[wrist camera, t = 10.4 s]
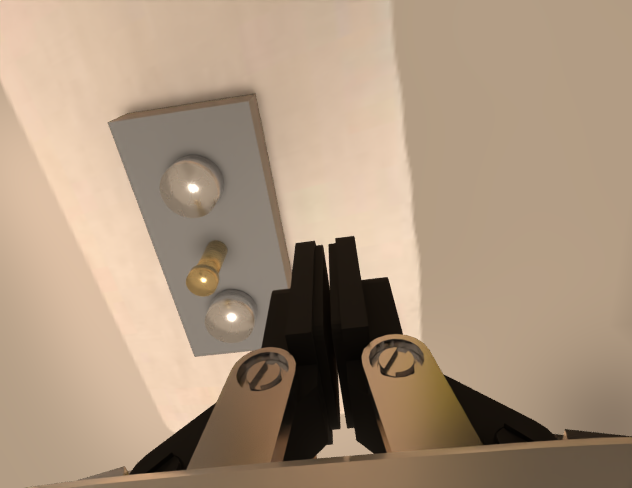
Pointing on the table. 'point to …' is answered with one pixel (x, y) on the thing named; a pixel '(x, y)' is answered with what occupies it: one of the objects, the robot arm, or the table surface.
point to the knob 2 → (231, 316)
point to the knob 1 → (192, 186)
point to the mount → (225, 218)
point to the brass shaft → (207, 270)
